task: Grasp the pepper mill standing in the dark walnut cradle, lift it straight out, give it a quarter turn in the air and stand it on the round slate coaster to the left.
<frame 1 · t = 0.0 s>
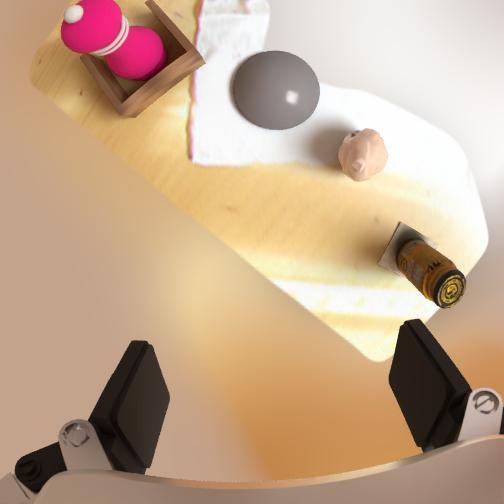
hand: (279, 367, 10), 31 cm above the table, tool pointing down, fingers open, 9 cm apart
pepper mill: (146, 60, 33), on the table
cradle: (146, 60, 33), on the table
beige plush toy: (355, 153, 37), on the table
coaster: (276, 89, 34), on the table
condiment: (408, 253, 42), on the table
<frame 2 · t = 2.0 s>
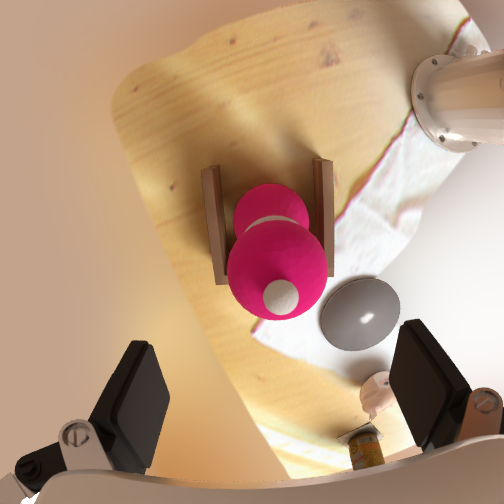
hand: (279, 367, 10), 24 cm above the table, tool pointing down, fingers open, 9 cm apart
pepper mill: (269, 210, 33), on the table
cradle: (269, 211, 33), on the table
beige plush toy: (375, 378, 42), on the table
coaster: (361, 315, 37), on the table
condiment: (361, 437, 48), on the table
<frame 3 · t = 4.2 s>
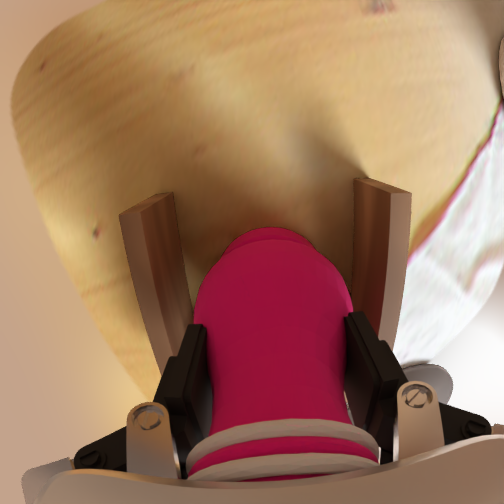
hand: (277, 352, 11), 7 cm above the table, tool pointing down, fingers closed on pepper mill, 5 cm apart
pepper mill: (270, 276, 18), on the table, touching gripper
cradle: (270, 277, 18), on the table
coaster: (399, 408, 22), on the table
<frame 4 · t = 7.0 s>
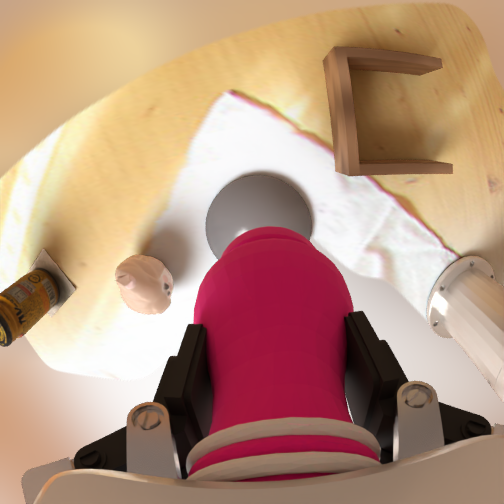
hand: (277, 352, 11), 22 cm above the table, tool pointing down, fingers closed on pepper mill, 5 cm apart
pepper mill: (270, 275, 18), point 14 cm above the table, touching gripper
cradle: (383, 114, 27), on the table
beige plush toy: (153, 273, 34), on the table
coaster: (258, 227, 32), on the table
condiment: (48, 283, 35), on the table
when the fingers open (9 cm above the table, at t = 9.9 s): pepper mill drops 1 cm, resting on coaster.
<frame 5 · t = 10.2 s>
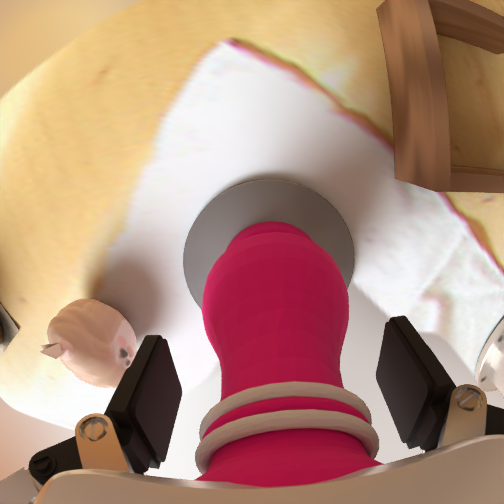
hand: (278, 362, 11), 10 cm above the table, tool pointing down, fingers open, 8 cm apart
pepper mill: (271, 267, 19), resting on coaster
cradle: (459, 99, 15), on the table
beige plush toy: (111, 321, 22), on the table
coaster: (269, 264, 20), on the table
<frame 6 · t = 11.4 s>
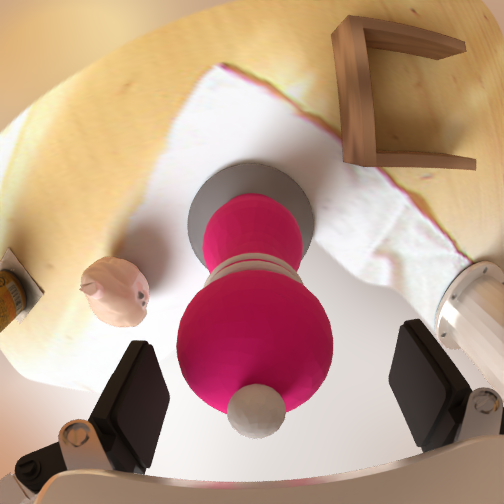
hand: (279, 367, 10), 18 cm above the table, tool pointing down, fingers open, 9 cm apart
pepper mill: (252, 227, 26), resting on coaster
cradle: (398, 99, 23), on the table
beige plush toy: (127, 278, 28), on the table
coaster: (250, 226, 27), on the table
condiment: (15, 286, 29), on the table
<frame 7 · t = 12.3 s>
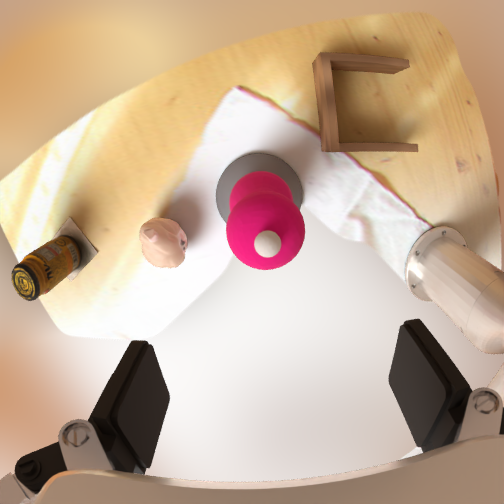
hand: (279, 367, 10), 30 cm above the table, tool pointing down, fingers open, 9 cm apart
pepper mill: (260, 196, 38), resting on coaster
cradle: (361, 106, 34), on the table
beige plush toy: (169, 235, 41), on the table
coaster: (259, 195, 39), on the table
condiment: (70, 249, 42), on the table
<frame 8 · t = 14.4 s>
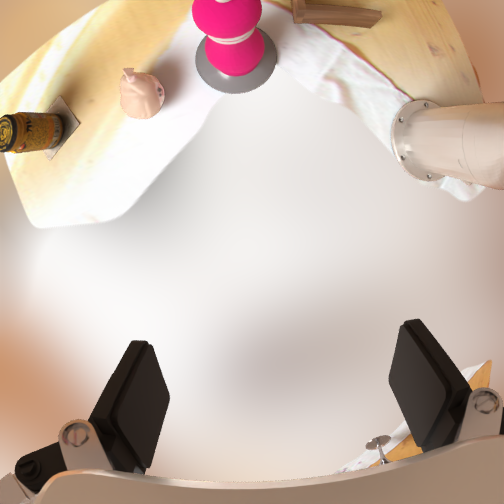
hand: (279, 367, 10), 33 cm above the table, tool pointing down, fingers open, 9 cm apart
pepper mill: (236, 56, 34), resting on coaster
beige plush toy: (149, 98, 37), on the table
wine glass: (378, 442, 62), on the table
coaster: (235, 57, 35), on the table
condiment: (55, 128, 38), on the table
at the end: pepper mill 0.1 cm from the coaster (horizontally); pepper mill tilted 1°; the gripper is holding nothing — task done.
